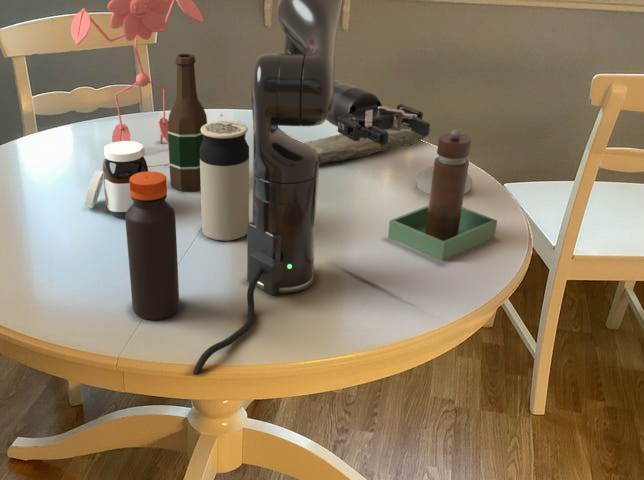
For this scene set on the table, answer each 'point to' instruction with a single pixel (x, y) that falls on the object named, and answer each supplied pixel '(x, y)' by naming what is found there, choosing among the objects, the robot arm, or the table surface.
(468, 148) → the pepper mill
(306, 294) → the table surface
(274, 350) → the table surface
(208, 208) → the travel mug
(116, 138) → the figurine
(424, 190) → the donut
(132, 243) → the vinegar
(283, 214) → the robot arm
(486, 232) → the green shallow open box
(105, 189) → the spread jar
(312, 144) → the elongated rock
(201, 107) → the beer bottle
